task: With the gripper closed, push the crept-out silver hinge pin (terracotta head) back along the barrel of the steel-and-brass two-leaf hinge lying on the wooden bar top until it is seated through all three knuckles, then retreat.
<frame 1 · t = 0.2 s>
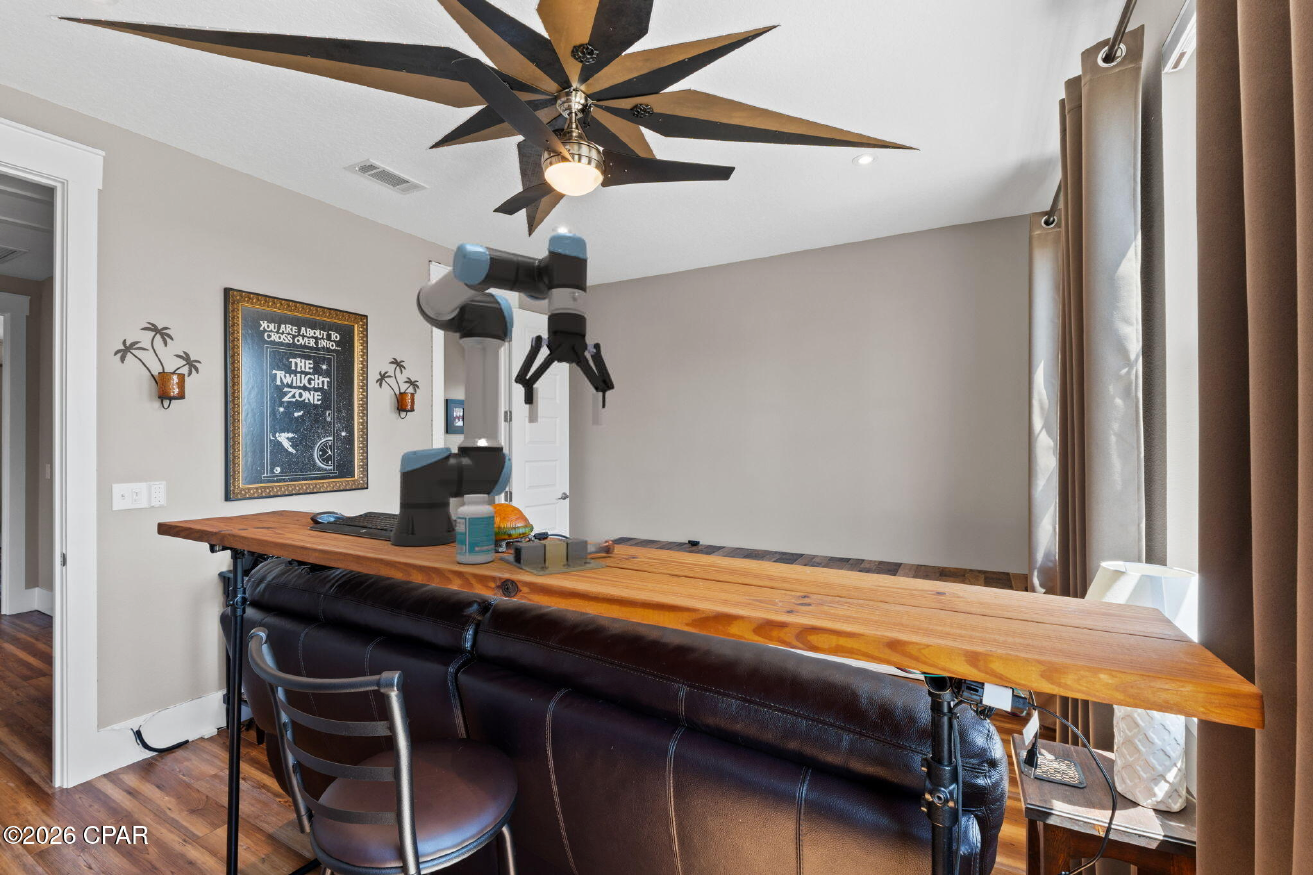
hand: (566, 424, 112), 28 cm above the table, fingers open, 13 cm apart
hinge pin: (579, 550, 120), point 2 cm above the table, slide at 6.0 cm
pill bottle: (475, 562, 117), on the table
hinge leaves: (550, 562, 116), on the table
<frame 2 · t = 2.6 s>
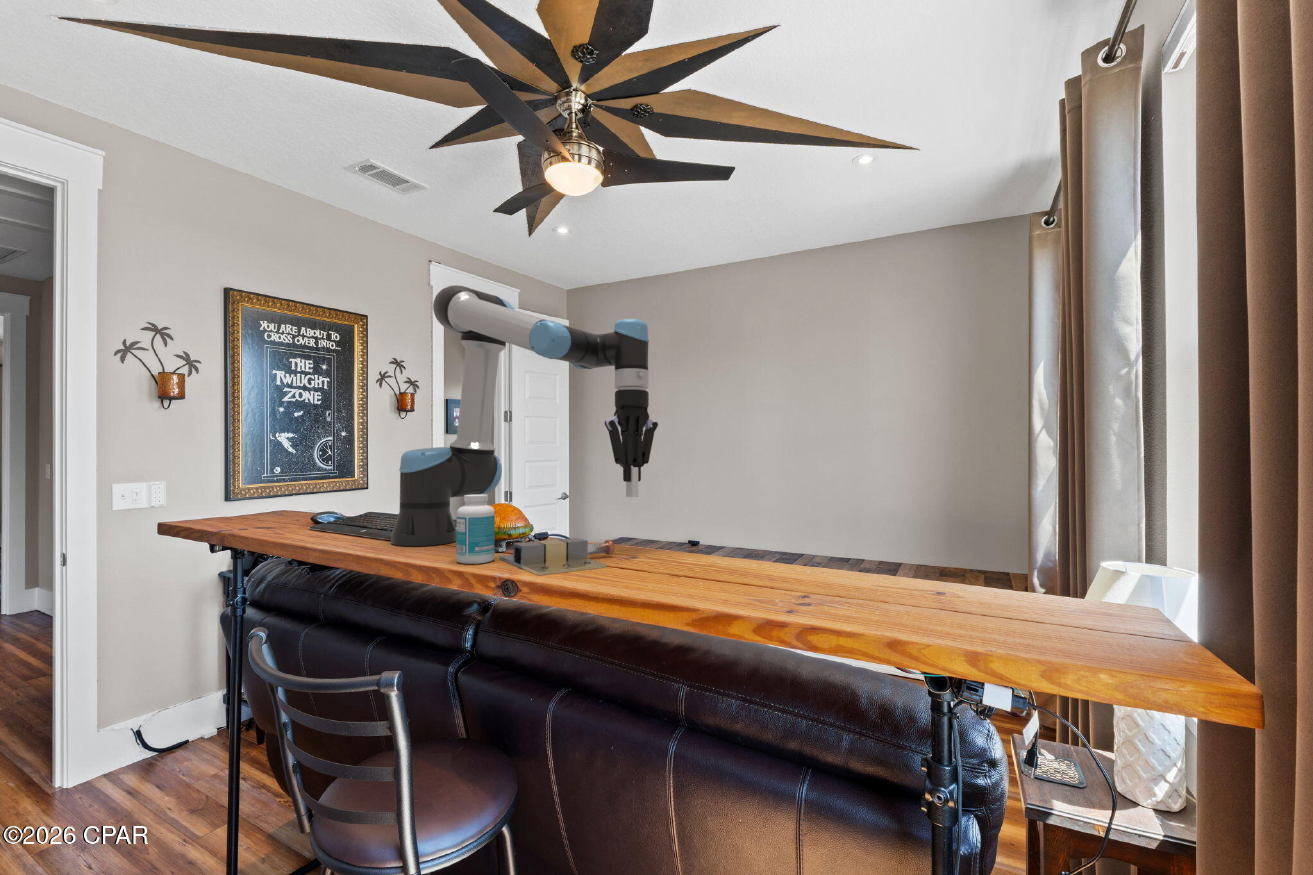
hand: (632, 496, 127), 13 cm above the table, fingers closed
nothing on the table moved.
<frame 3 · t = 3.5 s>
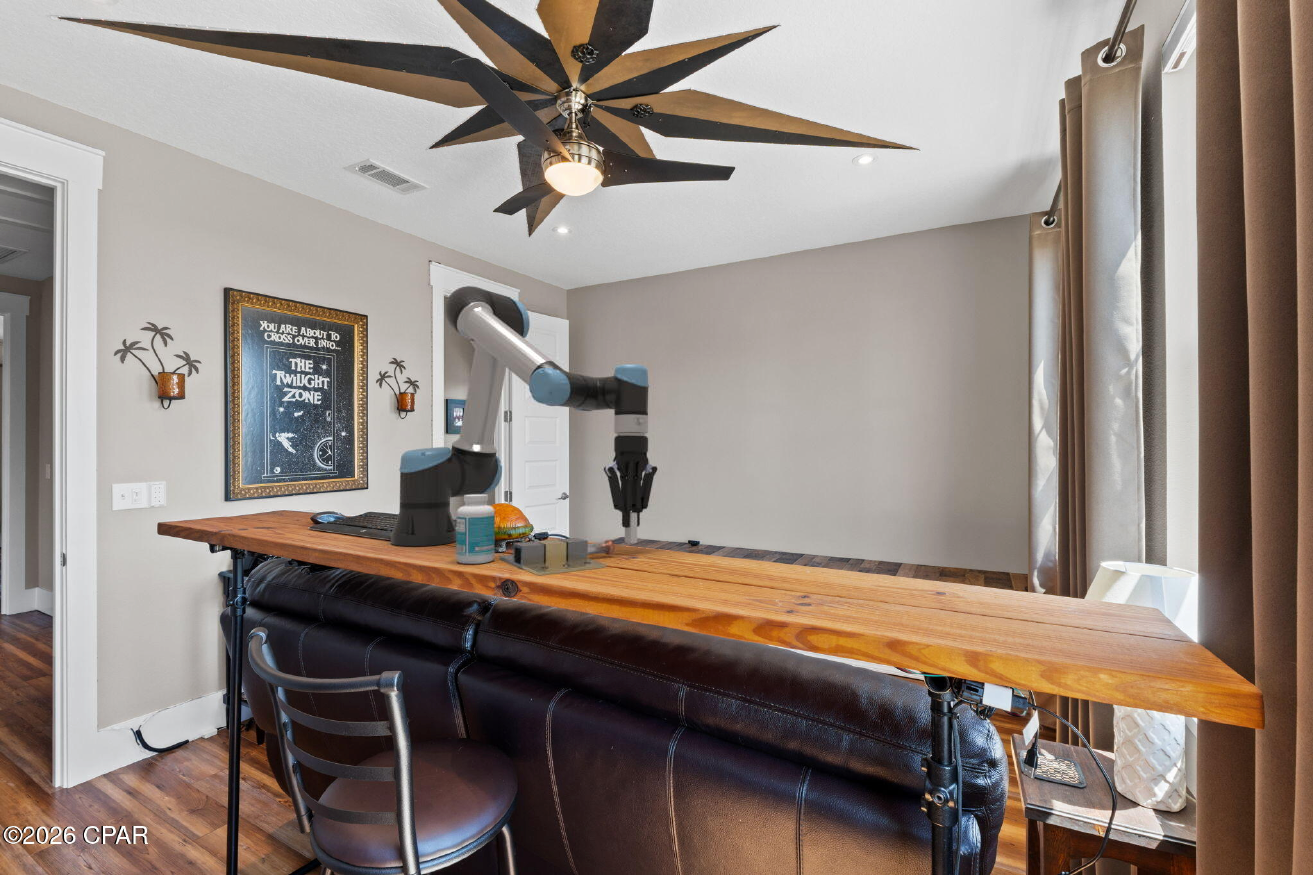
hand: (630, 542, 127), 3 cm above the table, fingers closed
nothing on the table moved.
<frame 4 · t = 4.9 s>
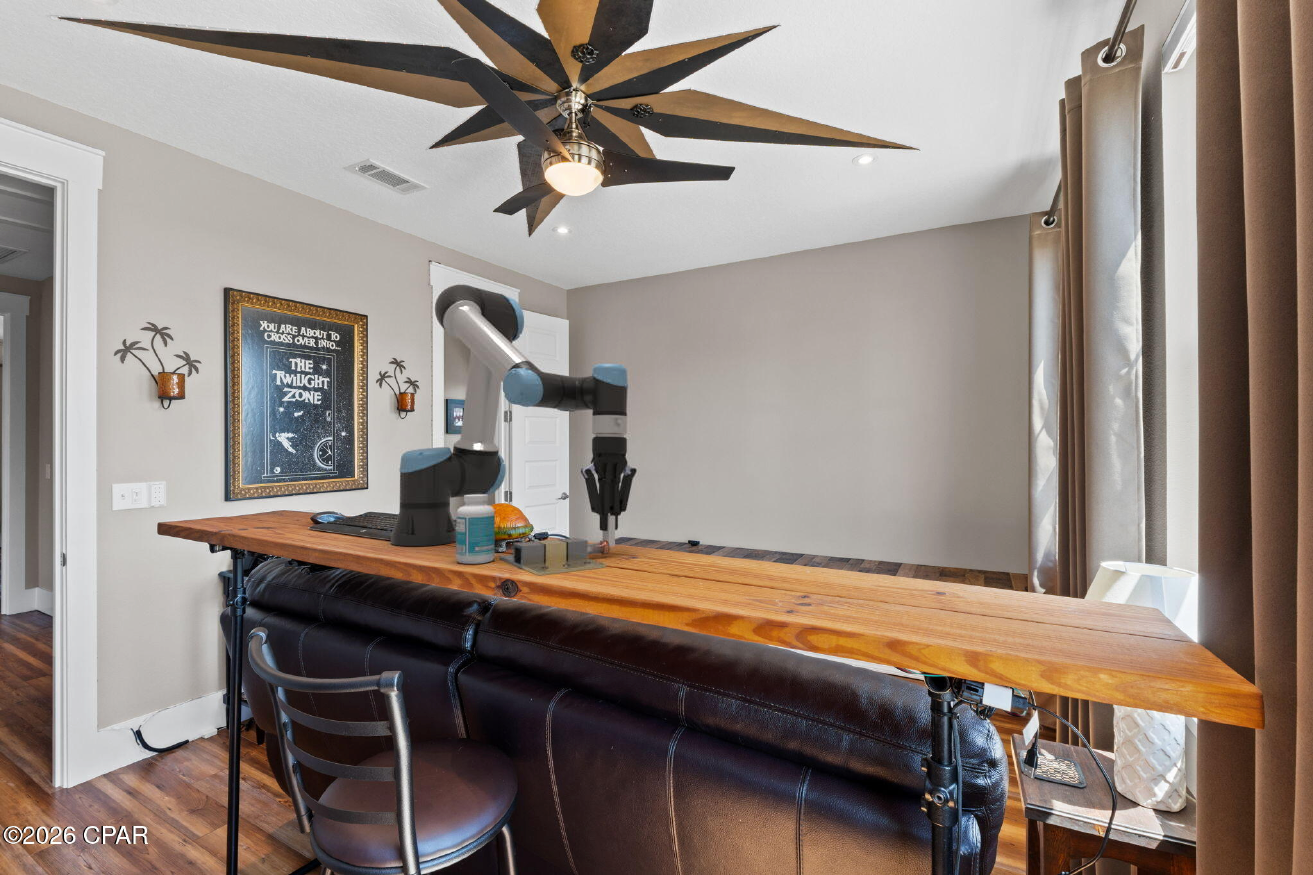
hand: (608, 545, 124), 2 cm above the table, fingers closed
hinge pin: (574, 550, 119), point 2 cm above the table, slide at 4.8 cm, touching gripper
everything else where it was.
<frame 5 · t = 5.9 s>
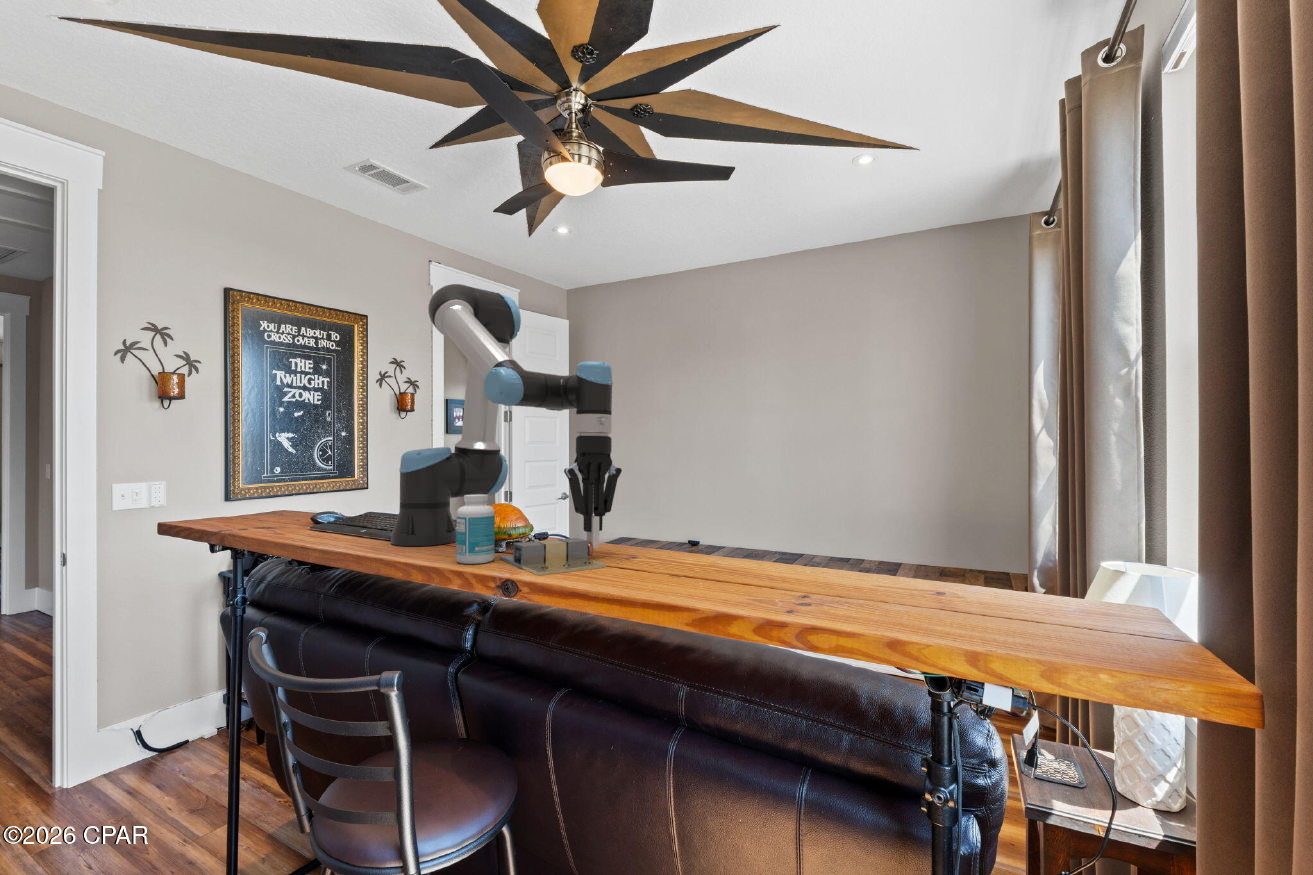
hand: (592, 546, 122), 2 cm above the table, fingers closed
hinge pin: (557, 552, 117), point 2 cm above the table, slide at 0.9 cm, touching gripper
everything else where it was.
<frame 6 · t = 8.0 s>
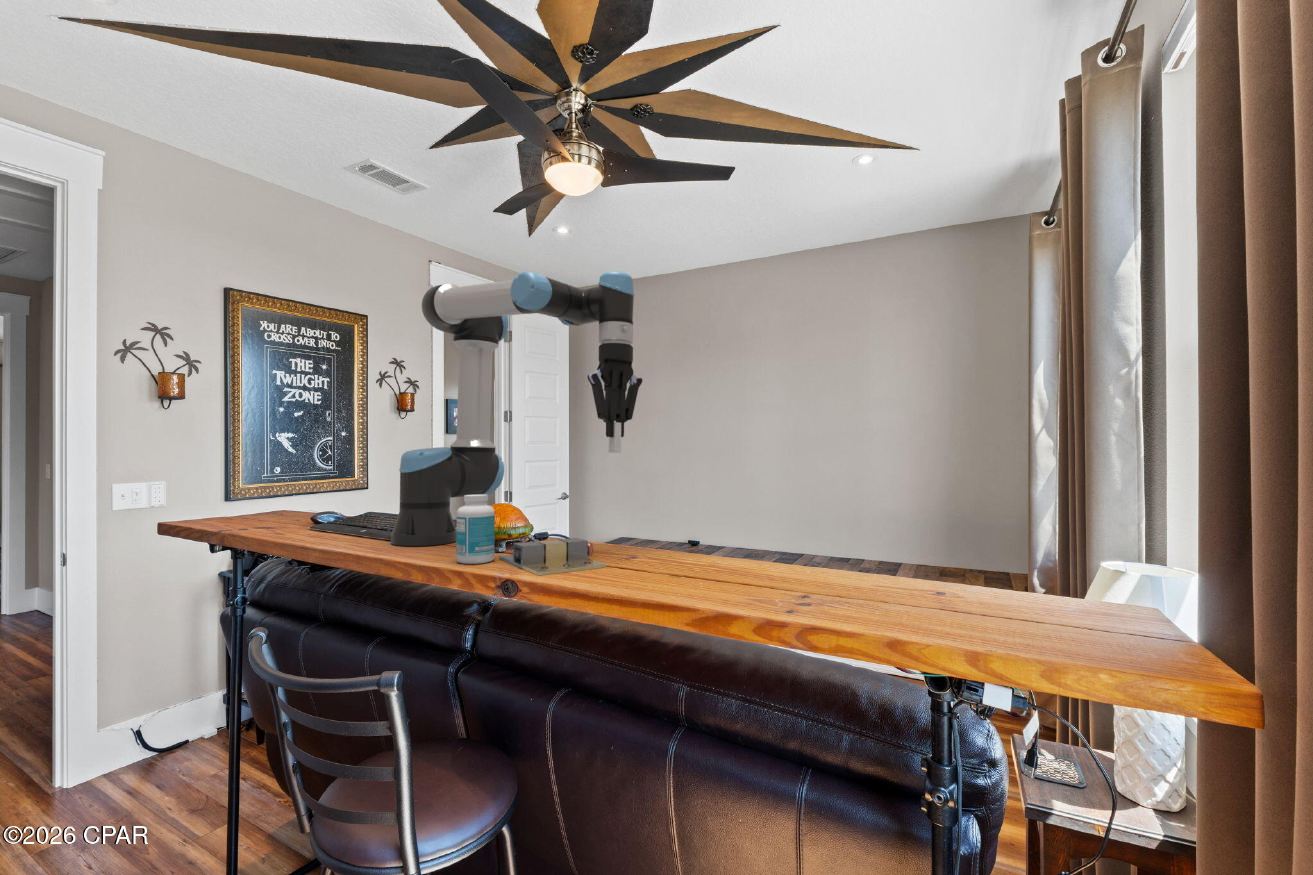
hand: (614, 452, 126), 22 cm above the table, fingers closed
hinge pin: (557, 552, 117), point 2 cm above the table, slide at 0.8 cm
everything else where it was.
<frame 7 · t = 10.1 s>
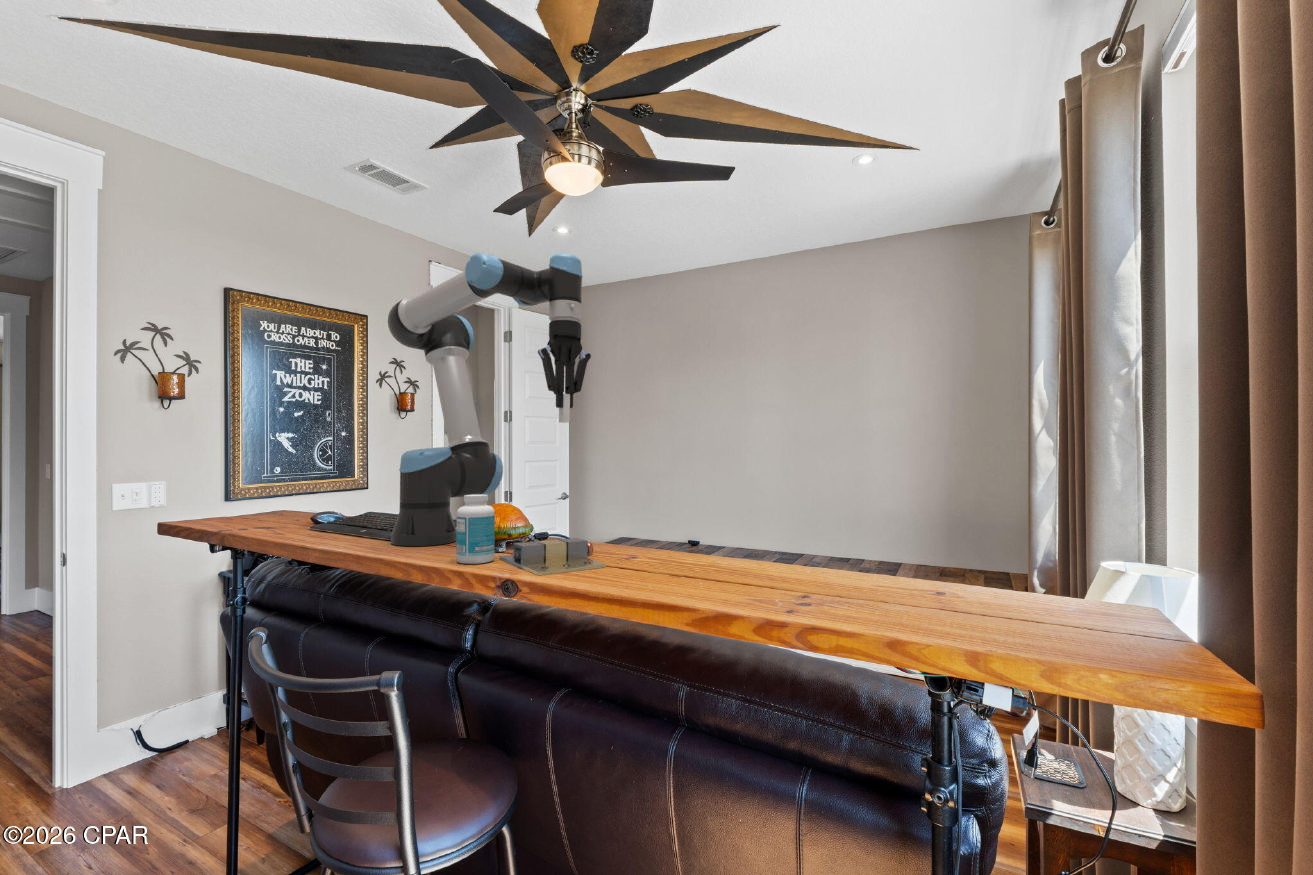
hand: (564, 422, 135), 29 cm above the table, fingers closed
nothing on the table moved.
at the end: hinge pin slide at 0.8 cm; the gripper is holding nothing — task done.
